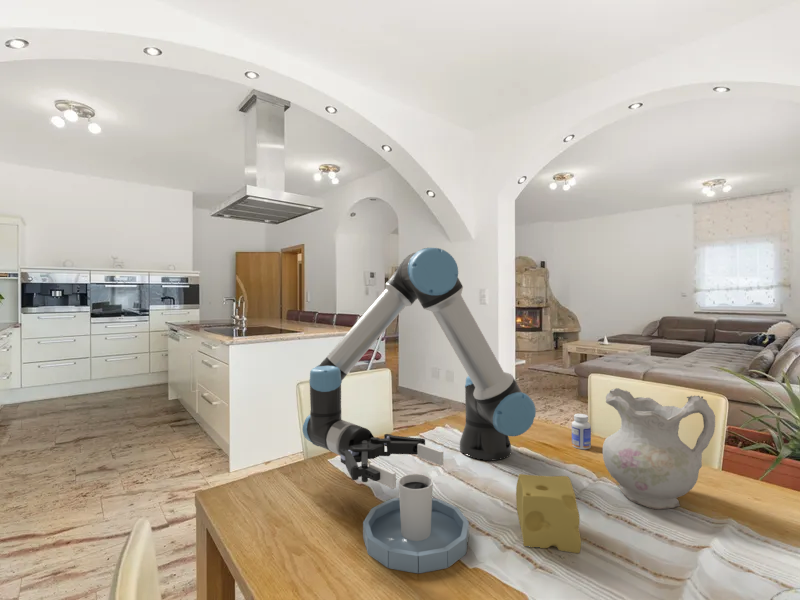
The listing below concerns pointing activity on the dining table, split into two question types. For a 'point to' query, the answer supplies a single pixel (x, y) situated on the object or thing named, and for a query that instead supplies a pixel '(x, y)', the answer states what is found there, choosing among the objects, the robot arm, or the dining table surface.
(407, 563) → the blue round tray
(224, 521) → the dining table surface
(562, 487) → the cheese
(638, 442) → the ceramic pitcher
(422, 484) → the white coffee cup
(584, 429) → the pill bottle
